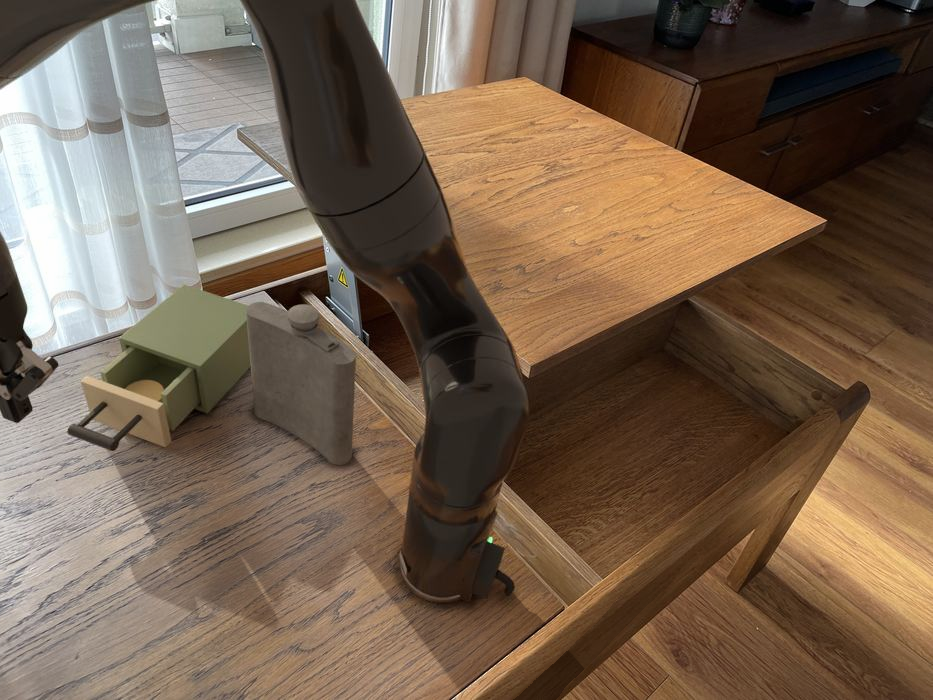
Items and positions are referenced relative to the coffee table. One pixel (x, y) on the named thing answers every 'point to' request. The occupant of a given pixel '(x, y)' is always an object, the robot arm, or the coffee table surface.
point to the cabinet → (197, 339)
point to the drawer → (137, 399)
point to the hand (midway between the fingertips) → (18, 415)
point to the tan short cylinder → (147, 389)
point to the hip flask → (302, 377)
